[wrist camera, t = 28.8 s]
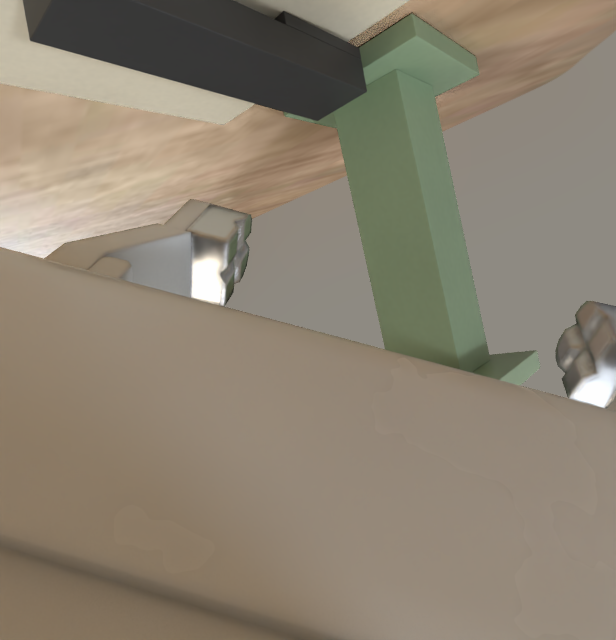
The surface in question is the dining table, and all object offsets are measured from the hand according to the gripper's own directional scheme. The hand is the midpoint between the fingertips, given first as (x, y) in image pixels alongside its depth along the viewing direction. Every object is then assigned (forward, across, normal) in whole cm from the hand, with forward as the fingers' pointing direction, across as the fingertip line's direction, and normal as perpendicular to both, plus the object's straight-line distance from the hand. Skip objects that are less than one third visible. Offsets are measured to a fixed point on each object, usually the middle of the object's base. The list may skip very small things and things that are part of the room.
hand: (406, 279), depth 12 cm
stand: (+32, +3, +2) cm, 33 cm away
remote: (+18, +10, 0) cm, 20 cm away
